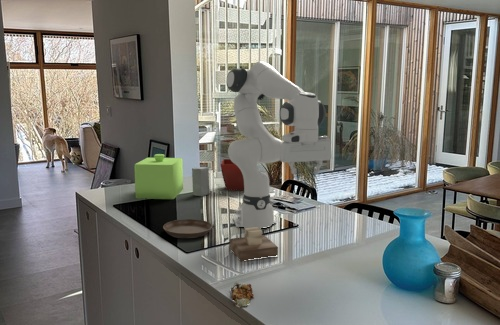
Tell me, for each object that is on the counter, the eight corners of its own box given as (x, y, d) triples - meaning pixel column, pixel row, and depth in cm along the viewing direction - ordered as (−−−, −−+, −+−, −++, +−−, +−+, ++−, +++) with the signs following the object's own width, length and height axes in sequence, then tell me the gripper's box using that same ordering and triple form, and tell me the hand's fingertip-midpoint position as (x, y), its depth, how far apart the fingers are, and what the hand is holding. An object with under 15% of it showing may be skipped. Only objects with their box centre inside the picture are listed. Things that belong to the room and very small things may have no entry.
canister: (148, 188, 276) (147, 151, 272) (183, 189, 274) (182, 151, 271) (135, 198, 251) (134, 157, 248) (173, 199, 250) (172, 158, 246)
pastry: (233, 308, 127) (233, 297, 126) (229, 290, 138) (229, 279, 138) (257, 307, 128) (257, 295, 127) (251, 289, 139) (251, 278, 139)
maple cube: (244, 241, 170) (244, 228, 169) (257, 239, 171) (257, 227, 170) (249, 245, 165) (249, 232, 164) (261, 244, 166) (261, 230, 166)
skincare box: (201, 196, 256) (201, 169, 253) (191, 195, 259) (191, 168, 257) (210, 193, 263) (210, 167, 260) (200, 192, 266) (199, 165, 264)
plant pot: (220, 191, 268) (220, 163, 266) (223, 185, 287) (223, 158, 284) (252, 192, 268) (252, 164, 265) (253, 185, 287) (253, 159, 284)
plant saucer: (205, 223, 206) (204, 216, 205) (218, 237, 187) (218, 229, 186) (159, 228, 198) (159, 221, 198) (168, 243, 179) (168, 235, 179)
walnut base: (229, 248, 173) (229, 238, 172) (263, 244, 177) (264, 234, 177) (241, 261, 160) (241, 251, 159) (277, 257, 164) (277, 246, 164)
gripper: (327, 134, 175) (325, 170, 177) (277, 136, 168) (277, 173, 170) (335, 136, 169) (333, 172, 171) (284, 138, 162) (284, 176, 164)
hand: (305, 173), depth 171 cm, fingers open, 8 cm apart
